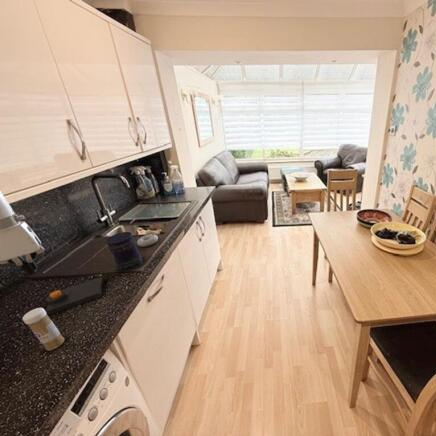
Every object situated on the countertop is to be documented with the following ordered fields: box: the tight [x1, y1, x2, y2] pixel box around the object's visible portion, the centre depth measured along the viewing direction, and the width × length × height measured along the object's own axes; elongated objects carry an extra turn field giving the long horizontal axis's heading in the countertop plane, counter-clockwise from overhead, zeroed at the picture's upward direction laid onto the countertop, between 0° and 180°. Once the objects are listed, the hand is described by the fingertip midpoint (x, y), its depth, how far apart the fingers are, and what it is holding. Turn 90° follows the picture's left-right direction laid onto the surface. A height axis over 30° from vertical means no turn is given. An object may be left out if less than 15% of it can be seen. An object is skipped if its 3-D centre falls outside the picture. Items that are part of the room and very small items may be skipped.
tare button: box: [49, 289, 62, 299], centre depth 90 cm, size 3×3×2 cm
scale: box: [45, 276, 105, 316], centre depth 93 cm, size 16×12×4 cm
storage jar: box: [105, 231, 144, 272], centre depth 108 cm, size 10×10×15 cm
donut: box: [136, 233, 159, 248], centre depth 128 cm, size 10×3×10 cm
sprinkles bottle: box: [21, 307, 66, 351], centre depth 71 cm, size 5×5×13 cm
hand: (33, 271), depth 80 cm, fingers closed
